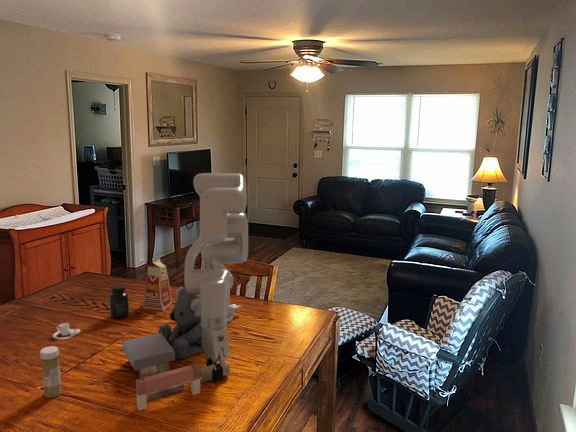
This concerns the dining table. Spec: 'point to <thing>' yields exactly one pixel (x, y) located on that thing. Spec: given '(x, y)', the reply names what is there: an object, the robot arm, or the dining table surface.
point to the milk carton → (157, 287)
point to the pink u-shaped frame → (167, 382)
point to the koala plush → (184, 325)
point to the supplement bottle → (119, 303)
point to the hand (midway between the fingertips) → (214, 376)
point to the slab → (148, 351)
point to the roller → (207, 372)
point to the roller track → (157, 370)
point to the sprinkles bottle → (51, 371)
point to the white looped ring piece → (66, 331)
